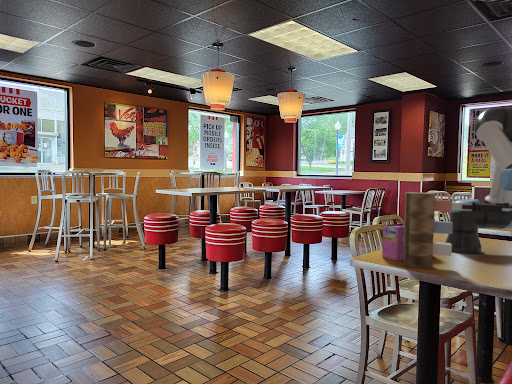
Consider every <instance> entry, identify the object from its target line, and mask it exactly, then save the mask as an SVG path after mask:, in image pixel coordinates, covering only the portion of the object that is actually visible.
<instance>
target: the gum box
mask: <svg viewBox="0 0 512 384" xmlns="http://www.w3.org/2000/svg"><path fill="white" fill-rule="evenodd" d="M403 243H404V222H403V223H392V224H383V227H382V253H381V255H382V258H385V259H388V260H393V261H396V262H397V261H403Z"/></svg>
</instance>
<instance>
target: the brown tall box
mask: <svg viewBox="0 0 512 384" xmlns="http://www.w3.org/2000/svg"><path fill="white" fill-rule="evenodd" d="M404 195H405V199H404V217H403V219H404V220H403V221H404V222H403V223H404V243H403V260H402V264H403V268H411V269H418V270H419V269H421V270H431V271H432V270H433V258H434V257H433V242H434V234H435V233H434V221H435V211H434V209H435V200H436V193H434V192H420V191H419V192H418V191H417V192H416V191H414V192H413V191H405V193H404Z"/></svg>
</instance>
